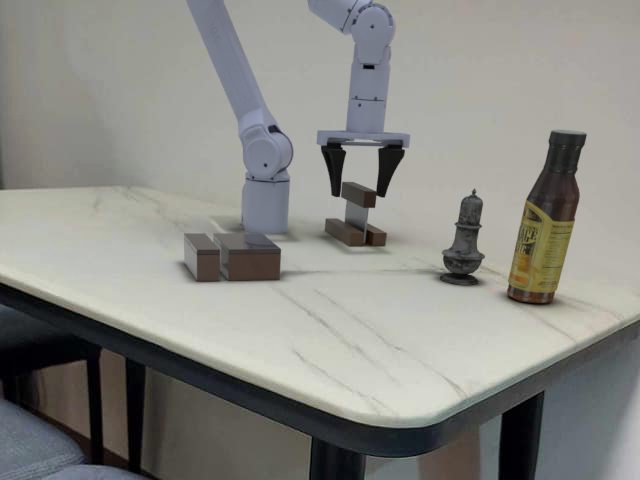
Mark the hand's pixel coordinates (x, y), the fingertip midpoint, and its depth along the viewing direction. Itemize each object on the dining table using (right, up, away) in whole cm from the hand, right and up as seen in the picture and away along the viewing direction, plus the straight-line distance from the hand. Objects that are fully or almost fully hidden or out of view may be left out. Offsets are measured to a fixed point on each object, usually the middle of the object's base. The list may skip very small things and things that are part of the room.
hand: (358, 196), depth 116 cm
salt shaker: (+13, -17, -13) cm, 25 cm away
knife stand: (0, -6, +4) cm, 7 cm away
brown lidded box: (-17, -16, -15) cm, 28 cm away
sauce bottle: (+20, -22, -20) cm, 36 cm away
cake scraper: (0, -6, +3) cm, 6 cm away
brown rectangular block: (-23, -17, -17) cm, 33 cm away
